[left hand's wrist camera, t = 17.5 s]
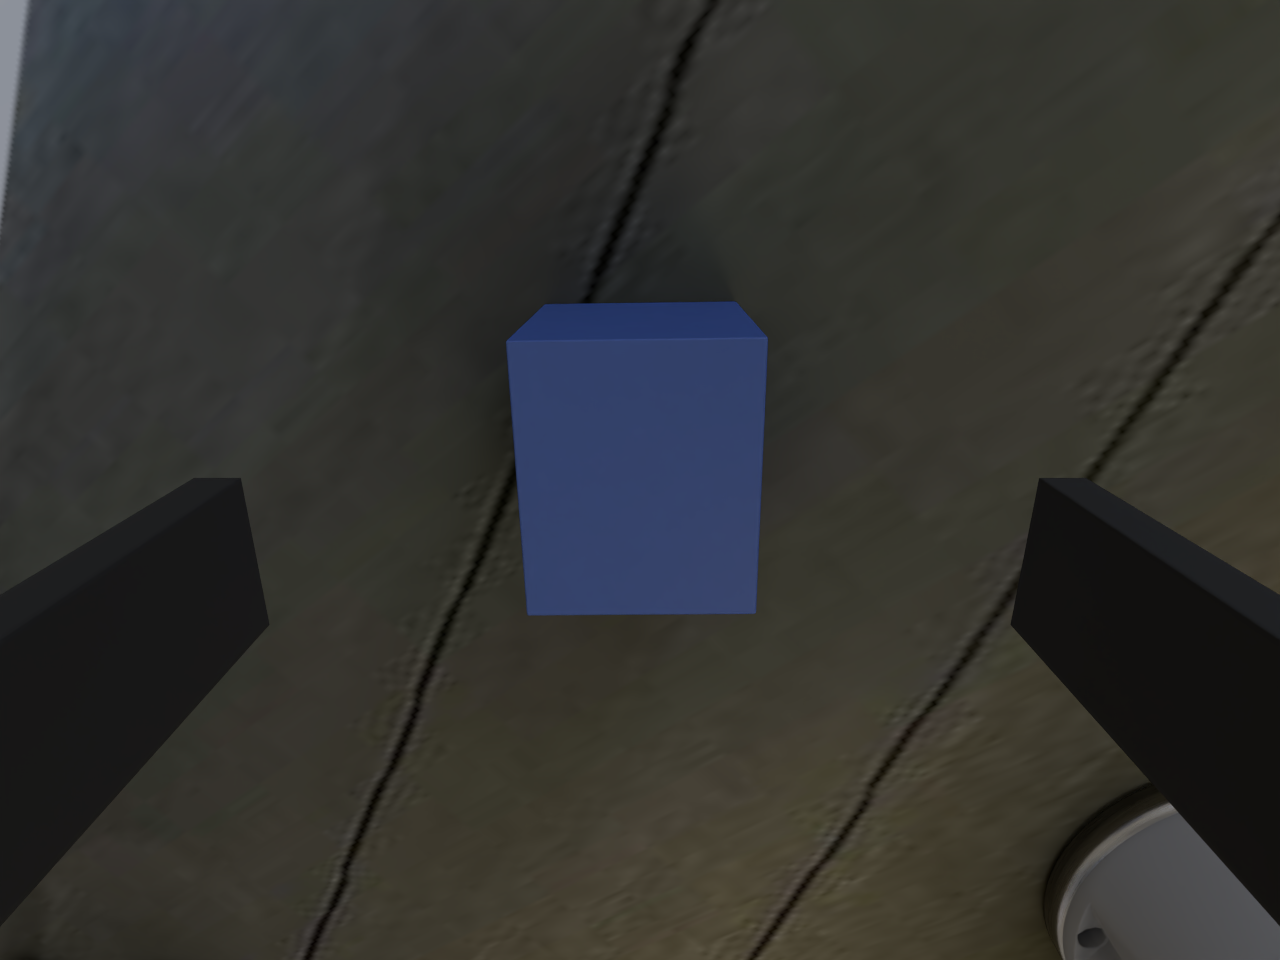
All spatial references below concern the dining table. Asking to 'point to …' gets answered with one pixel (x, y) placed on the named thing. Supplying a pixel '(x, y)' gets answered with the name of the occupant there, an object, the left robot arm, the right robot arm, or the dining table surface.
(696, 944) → the dining table surface
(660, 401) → the brick
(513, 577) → the dining table surface
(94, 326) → the dining table surface
